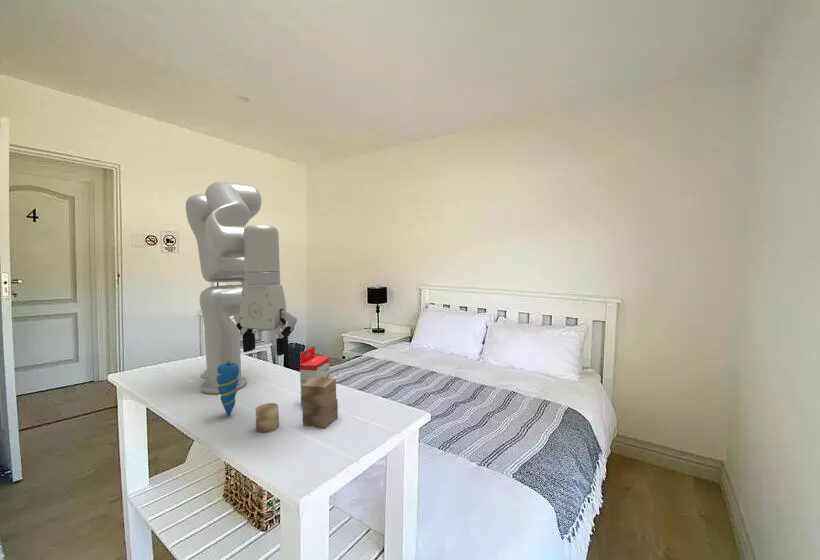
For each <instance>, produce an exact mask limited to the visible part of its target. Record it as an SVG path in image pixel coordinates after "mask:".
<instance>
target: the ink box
mask: <svg viewBox="0 0 820 560" xmlns="http://www.w3.org/2000/svg"><path fill="white" fill-rule="evenodd" d="M315 352H316V346H315V345H314V346H312V347H310V348H307V349H305V350H304V351H301V352H300V357H299V358H300V359H299V362H300V364H299V373H300V374H299V376H300V377H299V378H300V381H299V382H300V406H301V407H302V385H303V384H305V383H306V382H307V381H309V380H310V379H312V378H313V377H320V378H330V356H325V355H316V354H315ZM308 353H309V354H308Z"/></svg>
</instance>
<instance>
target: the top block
mask: <svg viewBox="0 0 820 560" xmlns="http://www.w3.org/2000/svg"><path fill="white" fill-rule="evenodd" d="M335 399H337V379H336V378H334V377H333V378H332V377H329V378H320V377H313V378H312V379H310V380H309V381H307V382H306V383H305V384H303V385H302V406H309V407H320V408H326V407H327V406H328V405H329V404H330V403H332V402H333V401H334V400H335ZM302 406H301V407H302Z"/></svg>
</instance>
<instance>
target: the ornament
mask: <svg viewBox="0 0 820 560" xmlns="http://www.w3.org/2000/svg"><path fill="white" fill-rule="evenodd" d="M229 359H230V358H229ZM226 360H227V359H226ZM217 370H218V376H217V382H218V384H219V386H218V390H219V392H220V393H219V395H220V398H219V399H220V401H221V405H222V407H223V408H224V410H225V411H224V412H225V413H226V416H229V417H230V416H231V414H232V412H233V410H234V407H235V405H236V396H237V389H236V386H237V384H238V378H237V377H238V374H239V368H238V365H237V364H236V363H230V360H227V361H226V363H225V364H222V365H220V366H219V367H218V369H217Z"/></svg>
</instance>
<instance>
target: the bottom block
mask: <svg viewBox="0 0 820 560" xmlns="http://www.w3.org/2000/svg"><path fill="white" fill-rule="evenodd" d="M338 402H339V401H338V398H336V399H335V400H334V401H333V402H332V403H330V404H329V405H328V406H327V407H326V408H320V407H309V406H301V407H302V426H307V427H312V428H318V429H323V430H324V429H326V428H327V427H329V426H330V425H331V424H332V423H333V422H335V421H336V420H337V419H339V413H338V412H339V410H338V409H339V407H338V405H339V404H338Z"/></svg>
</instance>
